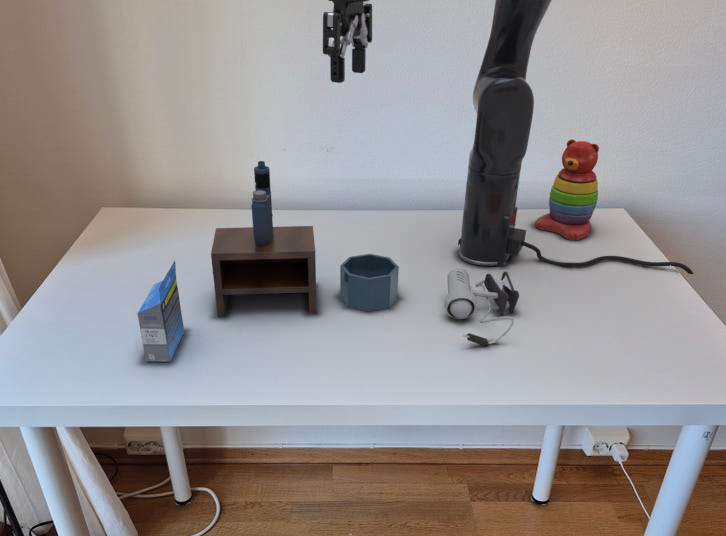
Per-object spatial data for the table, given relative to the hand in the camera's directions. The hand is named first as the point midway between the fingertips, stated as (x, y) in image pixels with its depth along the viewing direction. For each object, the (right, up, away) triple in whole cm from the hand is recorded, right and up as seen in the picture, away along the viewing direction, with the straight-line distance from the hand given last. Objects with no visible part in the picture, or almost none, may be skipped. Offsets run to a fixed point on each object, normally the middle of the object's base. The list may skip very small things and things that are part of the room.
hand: (348, 77), depth 117 cm
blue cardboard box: (-27, -45, -11) cm, 54 cm away
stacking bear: (+45, -20, +29) cm, 57 cm away
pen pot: (+3, -37, +3) cm, 37 cm away
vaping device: (-13, -28, -5) cm, 31 cm away
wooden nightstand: (-14, -37, +2) cm, 40 cm away
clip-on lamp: (+21, -41, -3) cm, 46 cm away
